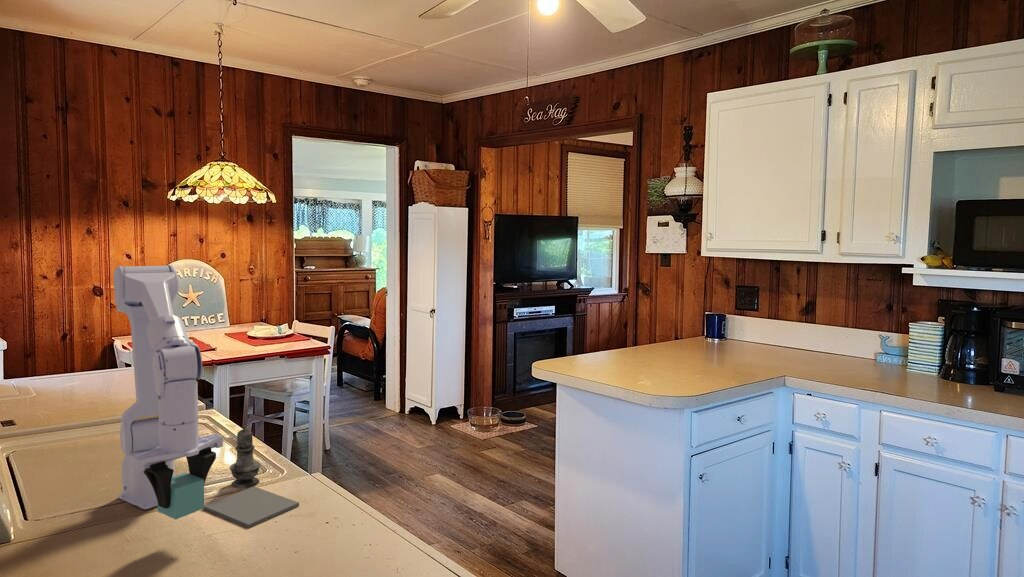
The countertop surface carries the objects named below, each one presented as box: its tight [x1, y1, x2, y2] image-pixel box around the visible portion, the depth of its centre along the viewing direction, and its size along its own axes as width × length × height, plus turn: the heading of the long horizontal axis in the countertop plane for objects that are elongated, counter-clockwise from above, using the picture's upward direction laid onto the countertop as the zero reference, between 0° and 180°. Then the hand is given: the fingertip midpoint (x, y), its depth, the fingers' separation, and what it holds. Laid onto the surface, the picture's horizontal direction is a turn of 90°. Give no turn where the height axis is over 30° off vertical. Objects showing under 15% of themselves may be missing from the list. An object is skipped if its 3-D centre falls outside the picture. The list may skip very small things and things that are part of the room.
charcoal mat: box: [203, 485, 300, 529], centre depth 125 cm, size 13×11×1 cm
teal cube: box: [156, 472, 205, 520], centre depth 110 cm, size 5×5×5 cm
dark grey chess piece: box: [228, 424, 262, 489], centre depth 135 cm, size 6×6×12 cm
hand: (180, 500), depth 110 cm, fingers closed on teal cube, 5 cm apart
